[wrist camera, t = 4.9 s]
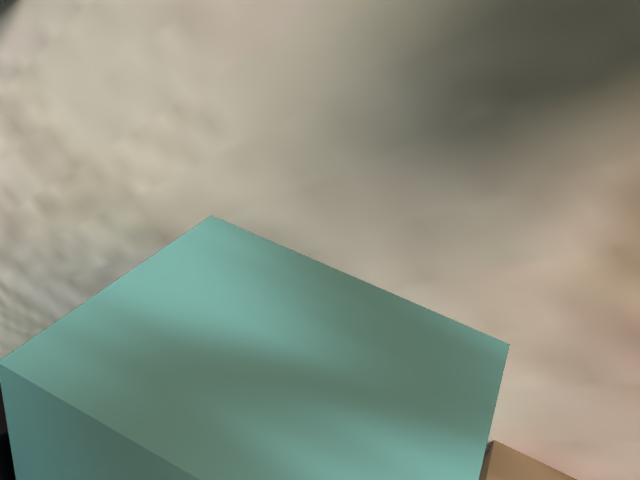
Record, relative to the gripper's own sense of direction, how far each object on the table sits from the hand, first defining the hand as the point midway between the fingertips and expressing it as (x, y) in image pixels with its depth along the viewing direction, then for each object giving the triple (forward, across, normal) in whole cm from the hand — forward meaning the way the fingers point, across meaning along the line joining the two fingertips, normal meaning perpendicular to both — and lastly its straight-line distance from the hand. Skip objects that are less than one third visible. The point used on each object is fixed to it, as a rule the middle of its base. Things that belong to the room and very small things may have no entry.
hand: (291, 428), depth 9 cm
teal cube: (+1, 0, 0) cm, 1 cm away
